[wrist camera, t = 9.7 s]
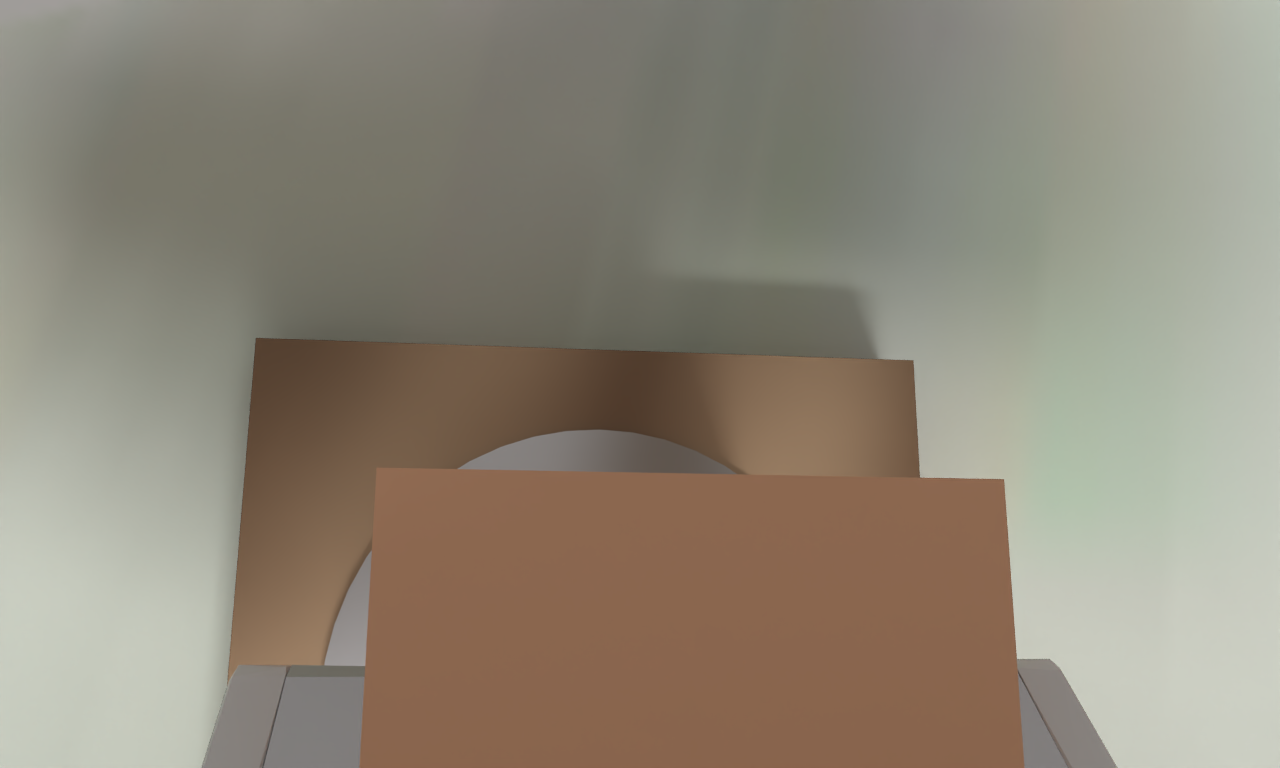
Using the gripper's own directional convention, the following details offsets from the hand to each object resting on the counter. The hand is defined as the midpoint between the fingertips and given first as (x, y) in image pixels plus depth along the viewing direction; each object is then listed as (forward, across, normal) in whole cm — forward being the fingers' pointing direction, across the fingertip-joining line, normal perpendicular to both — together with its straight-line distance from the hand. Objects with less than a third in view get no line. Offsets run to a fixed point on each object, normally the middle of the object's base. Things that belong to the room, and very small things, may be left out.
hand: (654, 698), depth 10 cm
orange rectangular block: (+3, 0, +4) cm, 5 cm away
